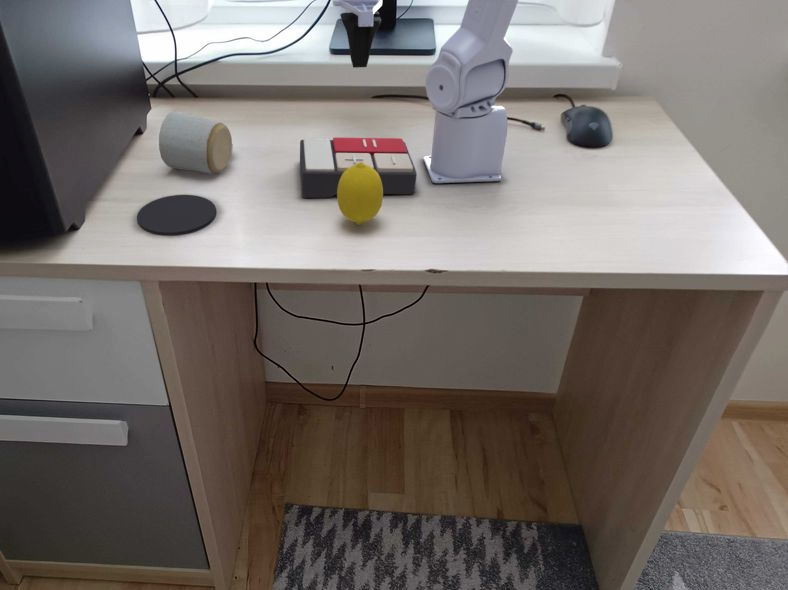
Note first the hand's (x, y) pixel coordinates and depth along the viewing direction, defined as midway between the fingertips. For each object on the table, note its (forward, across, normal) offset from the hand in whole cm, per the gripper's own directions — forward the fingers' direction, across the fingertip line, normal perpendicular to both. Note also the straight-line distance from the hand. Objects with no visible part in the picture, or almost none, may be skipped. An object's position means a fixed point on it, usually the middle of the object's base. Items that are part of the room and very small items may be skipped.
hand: (359, 66), depth 99 cm
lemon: (+10, +32, -3) cm, 33 cm away
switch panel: (+10, +19, -2) cm, 21 cm away
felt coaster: (+9, +27, -26) cm, 39 cm away
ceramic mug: (+10, +12, -24) cm, 29 cm away
